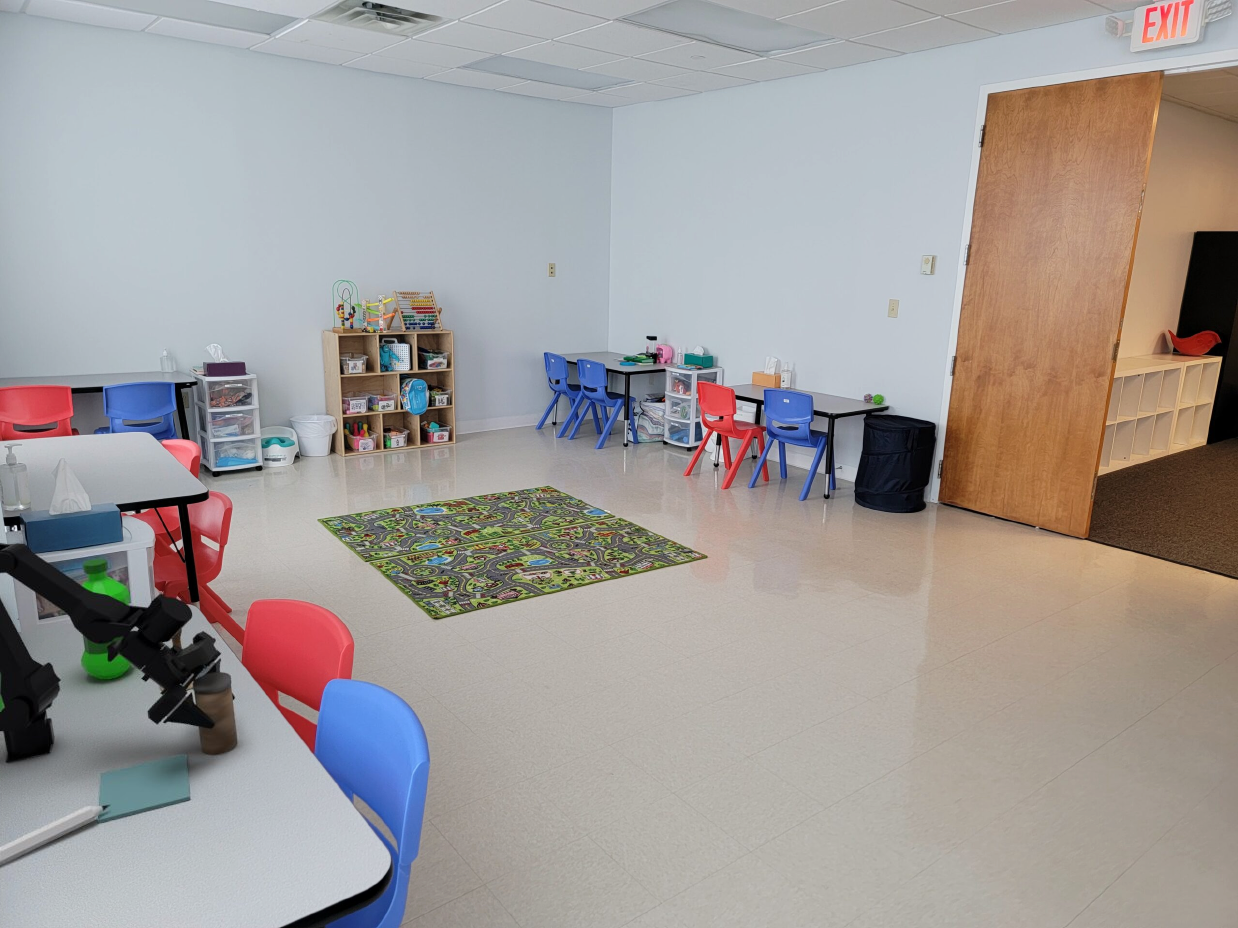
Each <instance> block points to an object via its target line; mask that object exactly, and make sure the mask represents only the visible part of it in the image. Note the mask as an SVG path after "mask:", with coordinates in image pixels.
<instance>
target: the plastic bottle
mask: <svg viewBox="0 0 1238 928" xmlns="http://www.w3.org/2000/svg"><path fill="white" fill-rule="evenodd" d="M82 567H83V573H84V574H85V575H86V576H87V580H85V581H84V582H83V583H82V584H80V585H81V586H83V587H84V588H86V589H88V590H90V591H92V592H95V593H100V594H105V595H109V596H111V597H113V598H115V599H117V600H119V601H121V602H123V603H125V604H127V605H130V601H131V595H130V591H129V589H128V588H127V586H126V585H124V584H122V583H121V582H119V581H117V580H115V579H114V578H111V577H110V576H107V571H108V570H109V564H108V560H107V559H106V558H95V559H90V560H86V561H84V562H83V563H82ZM121 638H122V637H117V638H115V639H114V640H112V641H111V642H109V643H106V644H95V643H92V642H90V641H89V640H88V639H87V638H86V637H84V636H83V635H82V640H83V645H84V651H83V653H82V655H81V659H80V662H81V667H82V668H83V669H84V671H86V672H87V673H88V675H90V676H92V677H94V678H97V679H98V680H103V679H108V680H111V679H112V678H113V679H117V678H119V677H120V676H123V675H124V674H125V673H126V671H127V670H128V669H129V668H130V667H131V665H132V664H131V663H130V662H128V661H127V660H126V659H124V658H123V657H122V656H121V655H118V656H117V657H116V658H115V659H114V660H113V661H111V662H108V660H107V659H108V657H107V656H108V650H107V646H108V645H109V644H111V643H112V642H113V641H119V640H120V639H121Z"/></svg>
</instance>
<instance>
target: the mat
mask: <svg viewBox="0 0 1238 928" xmlns="http://www.w3.org/2000/svg"><path fill="white" fill-rule="evenodd" d="M187 761H188V759H187V753H182V754H177V755H174V756H169V757H165V758H160V759H156V760H152V761H148V762H144V763H138V764H135V765H130V766H127V767H122V768H117V769H113V770H110V771H109V770H108V771H106V772H102V773H100V781H99V795H98V806H105V805H110V804H111V805H110V806H109V807H108V808H106V809H105V810H104V811H102V812H101V813H100V814H99V815H98V816H97V823H98V824H102V823H105V822H108V821H113V820H117V819H120V818H124V817H128V816H129V817H130V816H132V815H136V814H137V815H138V814H141V813H145V812H148V811H151V810H156V809H160V808H163V807H168V806H171V805H175V804H179V803H183V802H187V801H190V800H191V794H190V793H191V792H190V781H189V773H188V763H187Z"/></svg>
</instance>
